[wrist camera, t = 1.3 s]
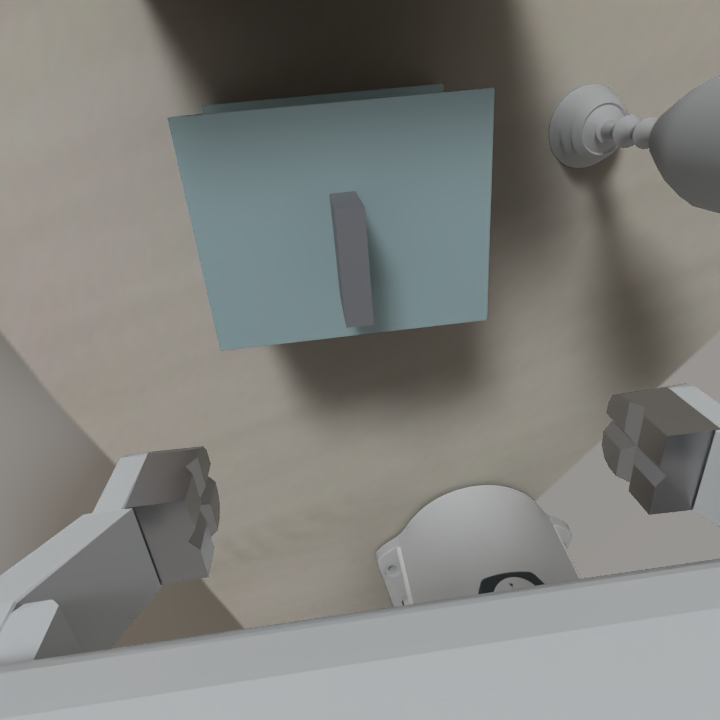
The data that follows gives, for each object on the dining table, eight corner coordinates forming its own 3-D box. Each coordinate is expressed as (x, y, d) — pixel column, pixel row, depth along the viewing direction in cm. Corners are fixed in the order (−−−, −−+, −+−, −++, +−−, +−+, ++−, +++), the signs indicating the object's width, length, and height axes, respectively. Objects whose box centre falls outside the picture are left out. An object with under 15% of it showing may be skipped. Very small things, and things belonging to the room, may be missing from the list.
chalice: (655, 74, 33) (990, 48, 17) (622, 185, 36) (880, 253, 20) (546, 62, 32) (792, 23, 16) (521, 177, 35) (708, 242, 19)
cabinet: (437, 262, 37) (514, 352, 24) (242, 283, 36) (208, 389, 23) (435, 84, 32) (531, 72, 19) (207, 105, 31) (138, 108, 18)
